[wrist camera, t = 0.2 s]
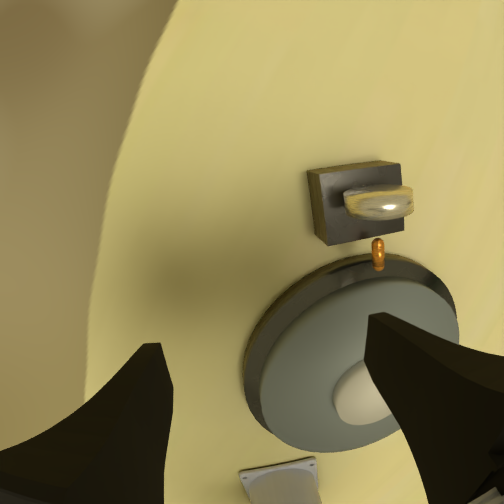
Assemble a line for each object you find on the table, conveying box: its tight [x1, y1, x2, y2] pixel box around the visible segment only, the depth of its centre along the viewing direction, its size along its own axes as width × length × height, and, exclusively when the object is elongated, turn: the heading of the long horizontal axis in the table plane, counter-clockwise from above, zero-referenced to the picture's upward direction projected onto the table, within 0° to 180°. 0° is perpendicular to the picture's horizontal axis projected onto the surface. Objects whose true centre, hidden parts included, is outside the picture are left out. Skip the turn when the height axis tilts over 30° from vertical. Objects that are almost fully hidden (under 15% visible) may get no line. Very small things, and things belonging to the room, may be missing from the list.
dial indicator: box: [307, 161, 414, 271], centre depth 17 cm, size 6×5×6 cm
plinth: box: [243, 253, 457, 434], centre depth 23 cm, size 18×18×2 cm
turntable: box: [259, 276, 459, 453], centre depth 20 cm, size 16×16×4 cm
